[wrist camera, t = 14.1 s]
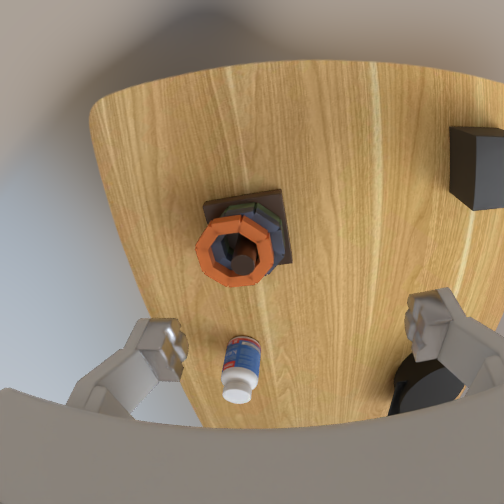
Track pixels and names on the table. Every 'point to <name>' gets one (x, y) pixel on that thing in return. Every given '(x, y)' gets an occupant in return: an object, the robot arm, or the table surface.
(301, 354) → the table surface
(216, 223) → the orange ring
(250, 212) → the stack post
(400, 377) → the black cylinder with pointer
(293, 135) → the table surface
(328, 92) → the table surface
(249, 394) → the pill bottle
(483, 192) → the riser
